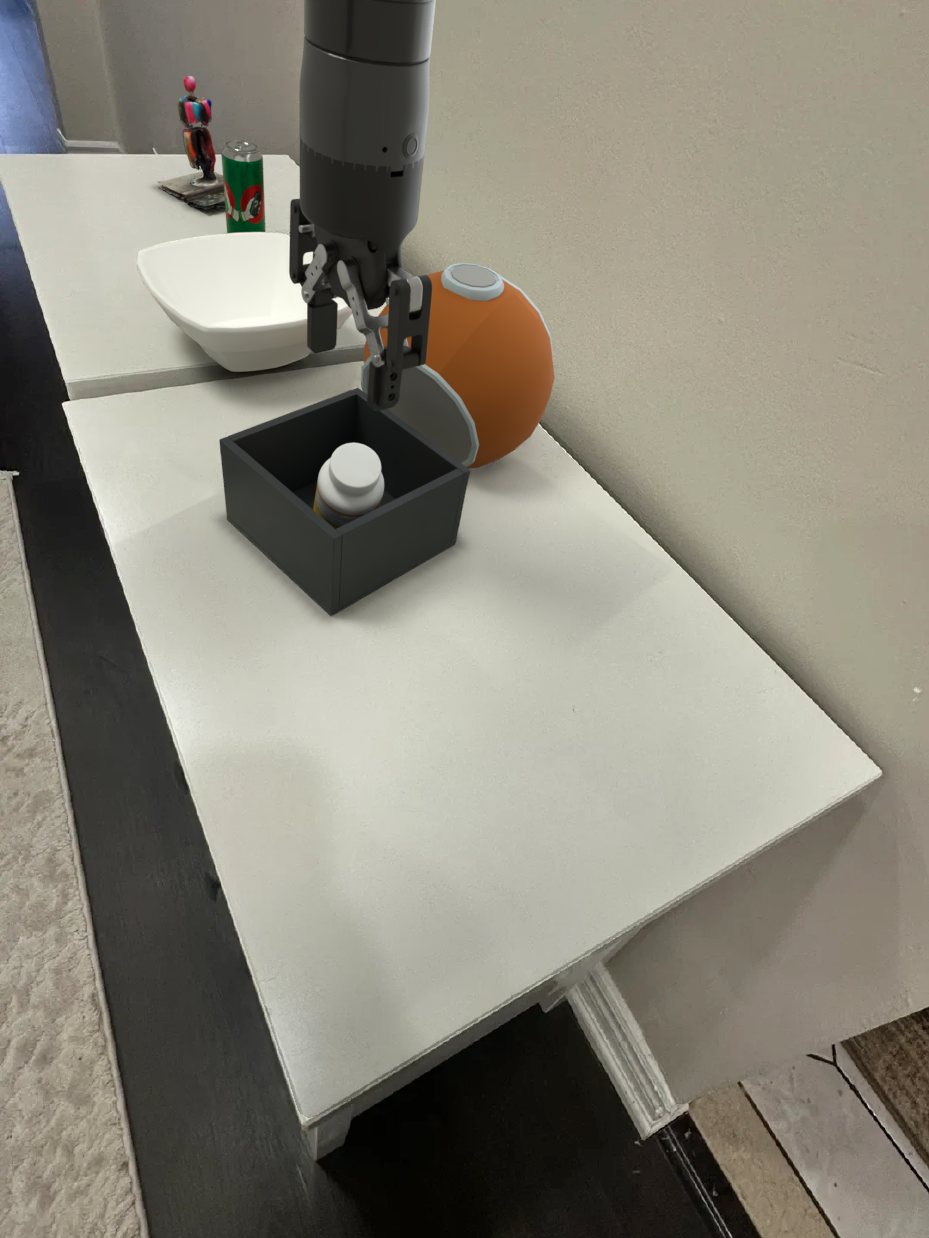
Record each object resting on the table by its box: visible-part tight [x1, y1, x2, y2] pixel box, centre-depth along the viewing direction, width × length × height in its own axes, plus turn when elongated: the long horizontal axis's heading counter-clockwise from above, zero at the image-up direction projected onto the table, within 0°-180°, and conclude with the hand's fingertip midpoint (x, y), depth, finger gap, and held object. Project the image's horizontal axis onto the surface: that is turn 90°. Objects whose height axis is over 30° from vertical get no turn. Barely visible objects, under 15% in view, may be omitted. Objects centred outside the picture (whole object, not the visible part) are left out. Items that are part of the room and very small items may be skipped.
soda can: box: [220, 139, 267, 234], centre depth 100 cm, size 5×5×12 cm
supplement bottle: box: [313, 443, 384, 529], centre depth 64 cm, size 5×5×10 cm
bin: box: [218, 387, 471, 617], centre depth 66 cm, size 15×15×9 cm
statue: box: [157, 75, 225, 210], centre depth 108 cm, size 11×9×15 cm
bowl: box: [136, 231, 353, 373], centre depth 84 cm, size 21×21×9 cm
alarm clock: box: [360, 262, 555, 471], centre depth 76 cm, size 19×18×17 cm
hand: (350, 377), depth 58 cm, fingers open, 8 cm apart
